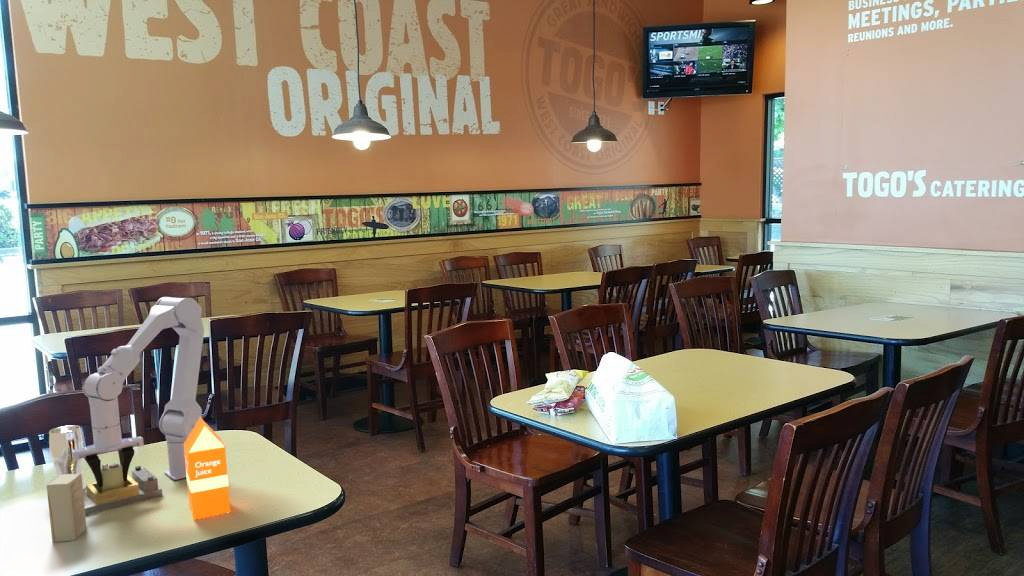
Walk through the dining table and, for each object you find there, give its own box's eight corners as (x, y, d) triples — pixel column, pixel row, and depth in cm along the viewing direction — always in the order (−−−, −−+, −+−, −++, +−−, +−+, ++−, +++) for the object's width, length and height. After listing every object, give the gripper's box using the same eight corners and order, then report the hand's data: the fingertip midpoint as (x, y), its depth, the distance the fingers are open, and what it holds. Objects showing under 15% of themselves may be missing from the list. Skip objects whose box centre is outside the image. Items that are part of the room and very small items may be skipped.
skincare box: (66, 530, 167) (59, 473, 165) (88, 528, 167) (82, 472, 166) (51, 543, 160) (44, 484, 159) (74, 541, 161) (68, 483, 159)
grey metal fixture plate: (147, 482, 194) (145, 464, 193) (162, 495, 185) (160, 476, 184) (64, 502, 182) (62, 483, 182) (75, 517, 173) (73, 497, 173)
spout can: (120, 487, 186) (117, 458, 185) (127, 492, 183) (124, 462, 182) (99, 493, 183) (96, 463, 182) (106, 498, 180) (103, 468, 179)
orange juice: (192, 520, 169) (184, 428, 167) (188, 507, 177) (180, 419, 175) (231, 512, 173) (224, 422, 170) (225, 499, 180) (218, 413, 178)
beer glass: (73, 496, 186) (66, 433, 185) (47, 495, 188) (40, 433, 186) (94, 485, 193) (88, 425, 191) (69, 484, 195) (63, 424, 193)
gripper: (74, 435, 174) (80, 496, 175) (145, 422, 183) (150, 479, 185) (67, 429, 179) (73, 487, 181) (136, 416, 188) (141, 471, 190)
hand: (112, 483), depth 183 cm, fingers closed on spout can, 4 cm apart
